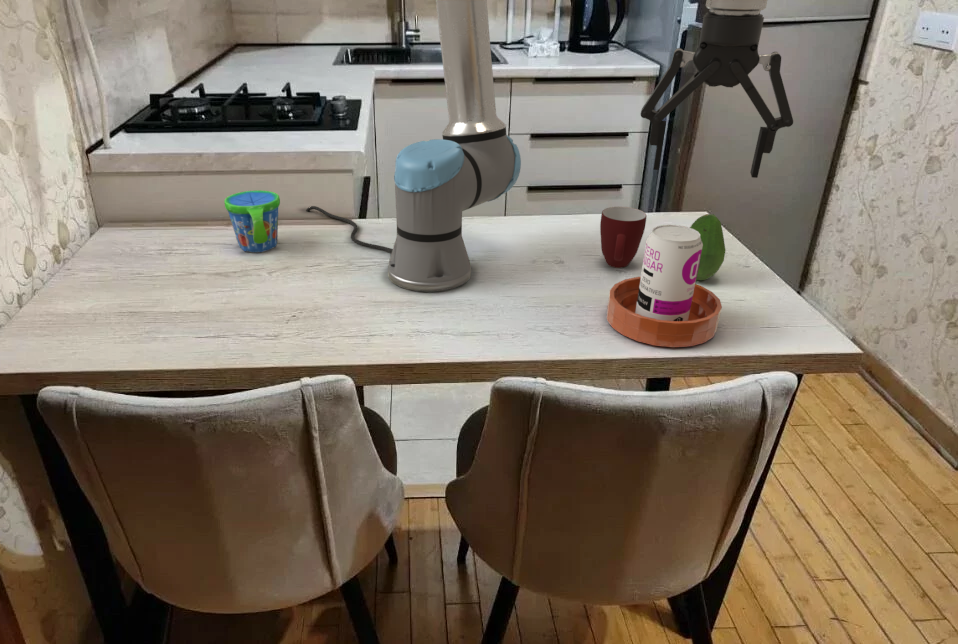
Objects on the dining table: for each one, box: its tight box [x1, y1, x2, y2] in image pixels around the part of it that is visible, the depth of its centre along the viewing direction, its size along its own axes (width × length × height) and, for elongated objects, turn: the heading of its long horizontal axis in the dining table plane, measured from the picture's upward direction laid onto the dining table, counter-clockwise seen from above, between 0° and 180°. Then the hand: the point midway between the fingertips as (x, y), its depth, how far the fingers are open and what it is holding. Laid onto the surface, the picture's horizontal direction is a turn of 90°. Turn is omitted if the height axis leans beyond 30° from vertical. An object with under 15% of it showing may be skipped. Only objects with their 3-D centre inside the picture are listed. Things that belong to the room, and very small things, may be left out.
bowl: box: [606, 276, 723, 348], centre depth 116 cm, size 17×17×4 cm
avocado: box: [689, 213, 726, 281], centre depth 129 cm, size 8×8×12 cm
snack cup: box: [224, 189, 281, 253], centre depth 144 cm, size 16×10×10 cm
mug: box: [599, 206, 648, 269], centre depth 134 cm, size 10×8×10 cm
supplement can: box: [635, 224, 703, 321], centre depth 113 cm, size 8×8×15 cm
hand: (704, 171), depth 106 cm, fingers open, 13 cm apart
